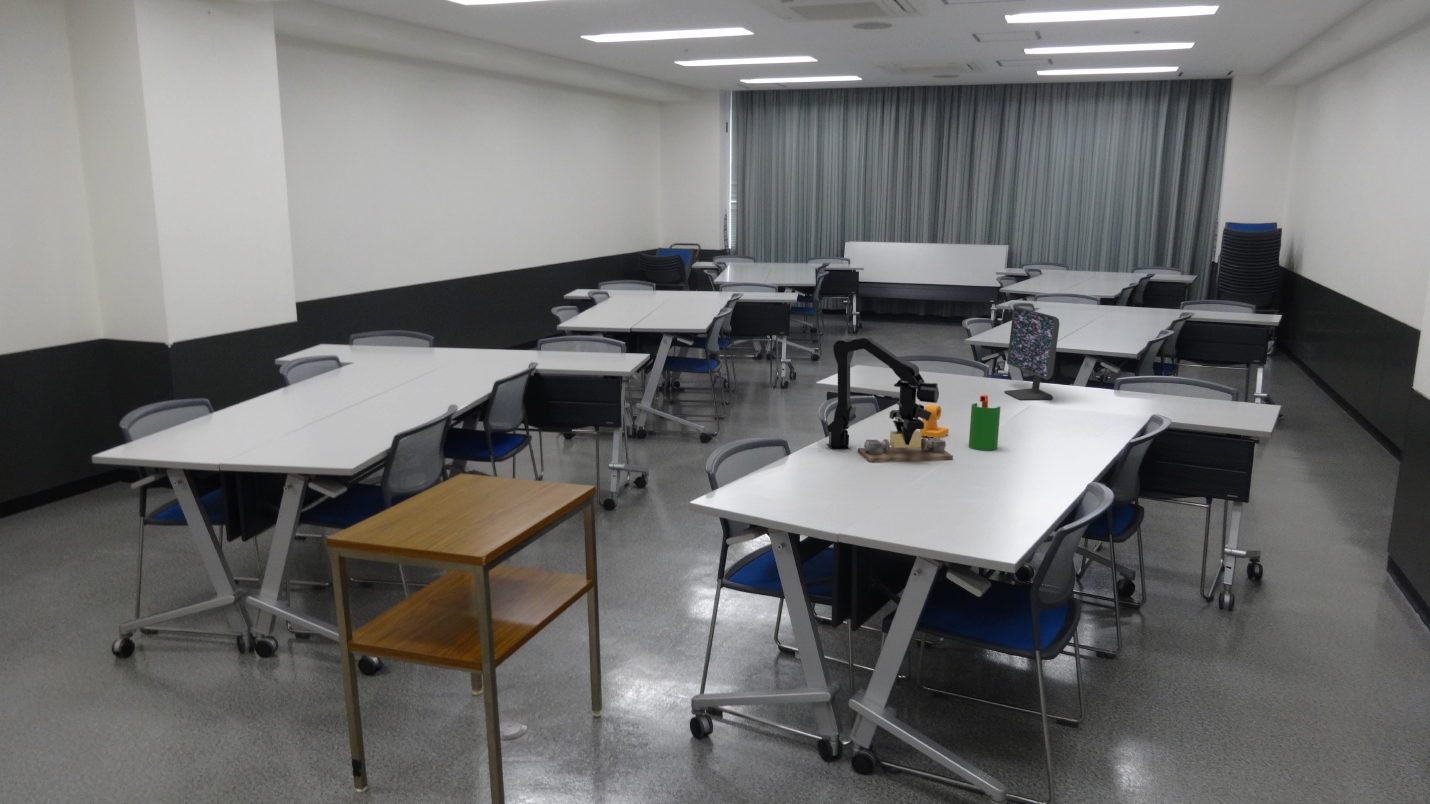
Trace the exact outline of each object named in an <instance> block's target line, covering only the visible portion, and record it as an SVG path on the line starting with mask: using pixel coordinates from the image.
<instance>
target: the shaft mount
mask: <svg viewBox="0 0 1430 804" xmlns="http://www.w3.org/2000/svg"><path fill="white" fill-rule="evenodd" d="M863 444H864V445H863V446H864V447H858V448H857V453H858V454H859V455H860V454H861V457H863V459H865V458H866V459H867V460H866V461H868V462H869V463H870V462H872V463H890V462H889V461H903V462H926V461H928V462H930V460H934V461H953V460H954V455H953V454H951V453H949V452H948V451H947V450H945V449H946V446H947V442H946V440H945V439H942V438H941V439H940V438H931V437H925V438H923V437H921V447H908V448H893V447H892V446H890V439H887V438H886V439H885V438H884V439H883V440H882V441H880V440H878V439H866V440H865V441H864V443H863Z"/></svg>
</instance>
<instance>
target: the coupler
mask: <svg viewBox="0 0 1430 804" xmlns="http://www.w3.org/2000/svg"><path fill="white" fill-rule="evenodd" d="M921 434H922V433H920V430H915V431H914V433H913V435H912V438H911V440H910V443H909V445H906V444H905V441H904V437H903V433H902V431H897V430H891V431H890V433H889V435H890V436H889V444H890V447H893V448H908V447H921V439H922V436H921Z"/></svg>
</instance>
